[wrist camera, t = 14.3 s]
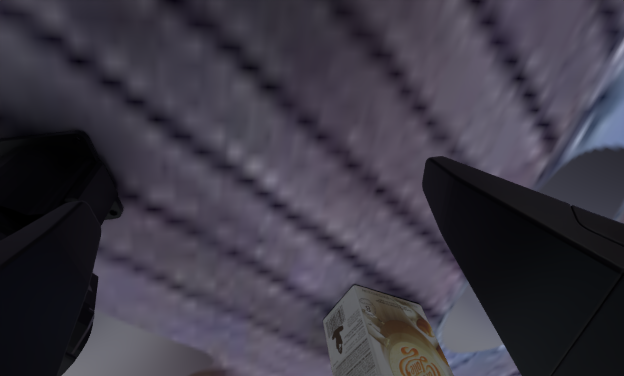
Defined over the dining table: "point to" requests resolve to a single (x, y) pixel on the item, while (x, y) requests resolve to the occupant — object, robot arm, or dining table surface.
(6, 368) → the robot arm
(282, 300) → the dining table surface
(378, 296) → the coffee box
